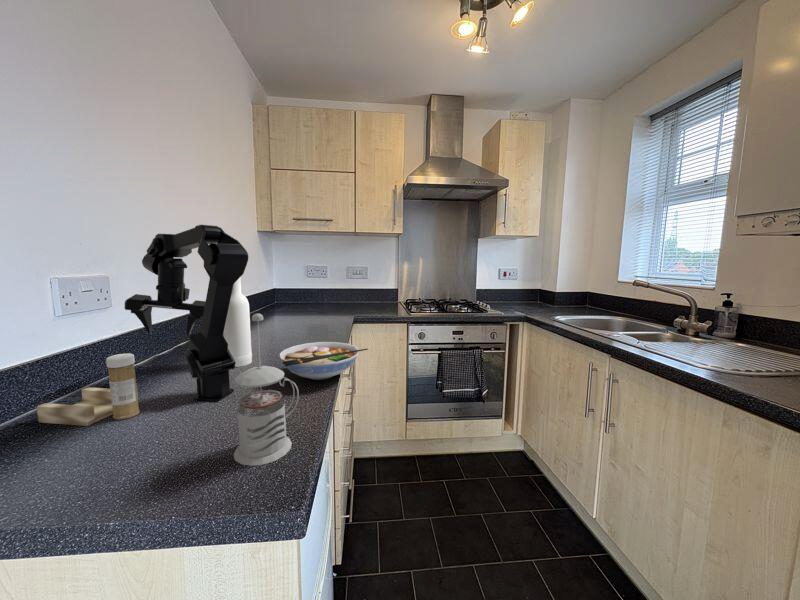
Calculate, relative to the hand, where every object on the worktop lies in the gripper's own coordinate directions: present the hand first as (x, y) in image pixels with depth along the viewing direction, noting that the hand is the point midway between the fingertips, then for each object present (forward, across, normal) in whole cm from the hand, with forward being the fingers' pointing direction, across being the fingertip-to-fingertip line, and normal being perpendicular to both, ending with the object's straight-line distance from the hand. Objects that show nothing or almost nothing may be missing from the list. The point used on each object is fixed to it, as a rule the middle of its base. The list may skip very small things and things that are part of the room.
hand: (169, 334), depth 91 cm
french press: (+1, -30, +45) cm, 54 cm away
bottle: (+12, -18, -7) cm, 22 cm away
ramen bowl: (+5, -42, +11) cm, 44 cm away
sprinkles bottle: (+9, 0, +25) cm, 26 cm away
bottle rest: (+11, +8, +21) cm, 25 cm away
